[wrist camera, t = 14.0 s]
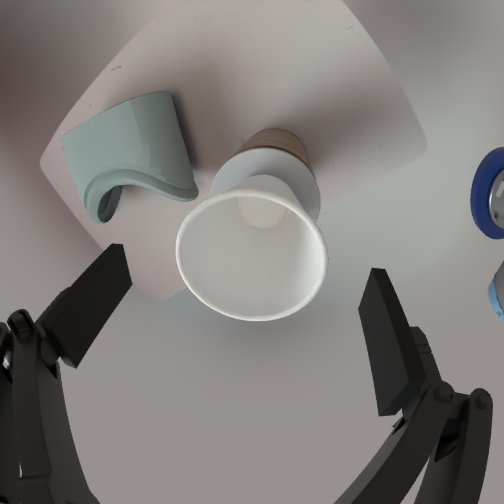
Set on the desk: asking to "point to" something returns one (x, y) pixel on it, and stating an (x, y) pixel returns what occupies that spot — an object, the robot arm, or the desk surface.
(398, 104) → the desk surface
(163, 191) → the sage-green arched shell
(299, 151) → the plinth
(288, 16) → the desk surface
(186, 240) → the cup
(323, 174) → the desk surface
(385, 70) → the desk surface
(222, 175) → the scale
